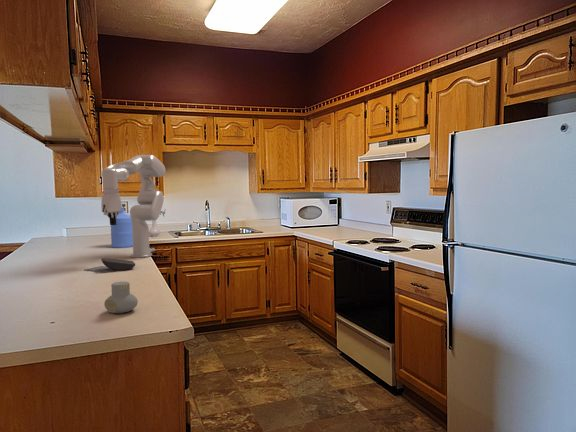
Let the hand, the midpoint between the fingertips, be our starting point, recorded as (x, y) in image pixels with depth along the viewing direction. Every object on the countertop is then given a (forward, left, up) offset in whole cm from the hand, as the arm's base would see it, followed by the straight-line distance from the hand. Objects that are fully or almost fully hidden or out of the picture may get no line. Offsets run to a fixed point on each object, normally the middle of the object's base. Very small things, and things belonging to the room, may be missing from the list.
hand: (113, 224), depth 240 cm
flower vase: (-110, -78, -23) cm, 137 cm away
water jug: (-53, -53, -23) cm, 79 cm away
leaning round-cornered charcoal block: (+6, +9, -18) cm, 21 cm away
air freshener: (+62, +75, -23) cm, 99 cm away
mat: (+12, +6, -22) cm, 26 cm away
